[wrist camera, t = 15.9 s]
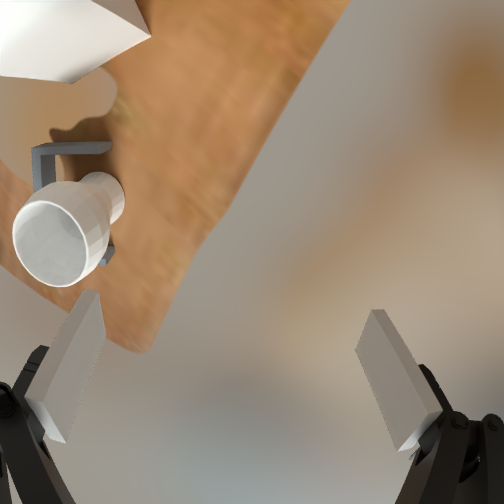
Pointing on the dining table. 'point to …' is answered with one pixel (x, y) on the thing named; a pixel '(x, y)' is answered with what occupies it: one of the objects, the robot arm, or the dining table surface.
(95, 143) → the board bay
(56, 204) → the cup
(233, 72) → the dining table surface
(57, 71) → the milk
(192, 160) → the dining table surface
